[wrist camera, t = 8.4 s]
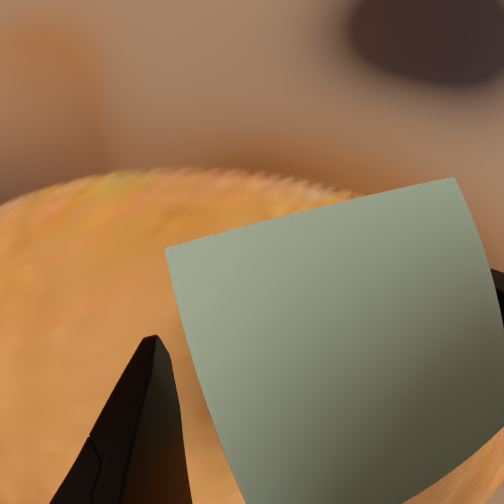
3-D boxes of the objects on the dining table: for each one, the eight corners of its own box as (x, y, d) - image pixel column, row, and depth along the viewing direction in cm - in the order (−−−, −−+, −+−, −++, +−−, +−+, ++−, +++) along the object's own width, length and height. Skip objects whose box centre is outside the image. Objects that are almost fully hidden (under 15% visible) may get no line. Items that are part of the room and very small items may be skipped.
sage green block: (332, 365, 15) (510, 419, 3) (247, 393, 15) (270, 551, 2) (307, 282, 16) (454, 176, 4) (222, 307, 16) (164, 248, 4)
